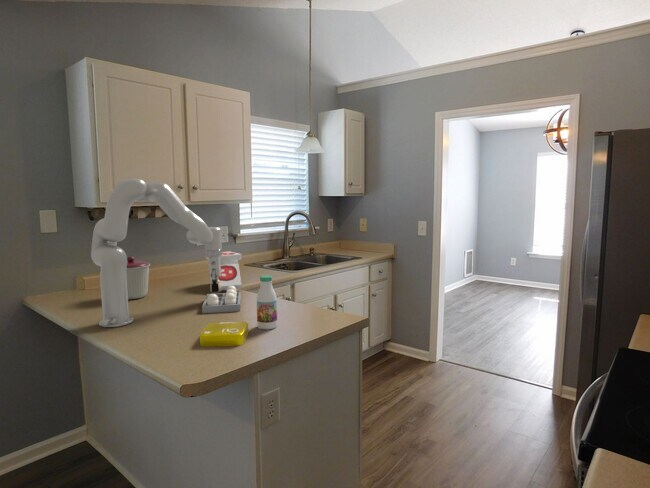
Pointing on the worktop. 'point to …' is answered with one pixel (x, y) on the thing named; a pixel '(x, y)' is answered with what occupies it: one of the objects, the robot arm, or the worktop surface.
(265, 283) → the milk bottle
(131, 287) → the canister
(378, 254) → the worktop surface
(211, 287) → the brown egg
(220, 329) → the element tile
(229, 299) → the egg carton
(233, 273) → the pizza boxes
